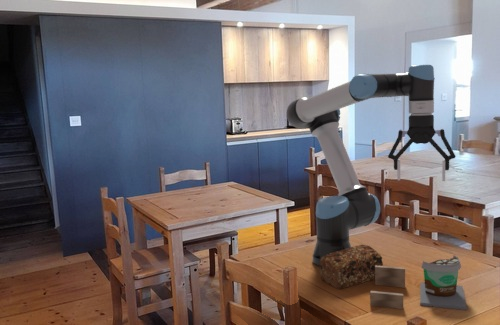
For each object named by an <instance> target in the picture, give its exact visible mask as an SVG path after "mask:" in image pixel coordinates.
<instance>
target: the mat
mask: <svg viewBox="0 0 500 325" xmlns="http://www.w3.org/2000/svg"><path fill="white" fill-rule="evenodd" d="M419 289H420V292H419V293H420V295H419V296H420V297H419V298H420V299H419V300H420V303H419V304H420V306H422V307H423V306H424V307H432V306H433V307H435V308H443V309H444V308H445V309H454V310H461V311H462V310H463V311H464V310H465V311H467V310H468V308H467V302H466V296H465V292H464V287H463V285H457V287H456V293H455V295H453V296H449V297H438V296H433V295H430V294H427V293H426V292H425V281H424V282H422V281H420V288H419ZM433 307H432V308H433Z"/></svg>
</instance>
